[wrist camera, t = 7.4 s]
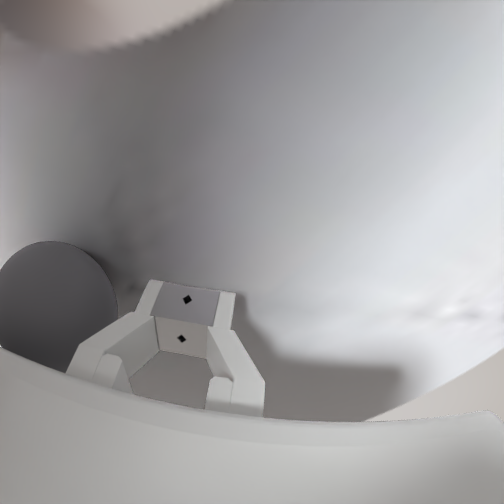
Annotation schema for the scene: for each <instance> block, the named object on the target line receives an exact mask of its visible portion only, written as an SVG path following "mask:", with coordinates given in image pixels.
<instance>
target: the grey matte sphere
mask: <svg viewBox="0 0 504 504" xmlns="http://www.w3.org/2000/svg"><path fill="white" fill-rule="evenodd" d="M116 320H118V309H117V300H116V297H115V293H114V289H113V287H112V285H111V282H110V280H109V278H108V276H107V275H106V273H105V272H104V270H103V269H102V267H101V266H100V265H99V264H98V263H97V262H96V261H95V260H94V259H93V258H92V257H91V256H89V255H88V254H87V253H85V252H84V251H83V250H81V249H79V248H77V247H75V246H72V245H70V244H67V243H63V242H56V241H45V242H39V243H34V244H31V245H29V246H27V247H24V248H23V249H21V250H19V251H18V252H17V253H15V254H14V255H13V256H12V257H10V259H9V260H8V261H7V262H6V263H5V264H4V266H3V267H2V269H1V270H0V345H1V347H2V348H4V349H6V350H8V351H10V352H13V353H15V354H17V355H19V356H22V357H24V358H26V359H29V360H31V361H34V362H36V363H39V364H41V365H44V366H46V367H49V368H52V369H54V370H57V371H60V372H63V373H66V371H67V369H68V367H69V365H70V363H71V361H72V358H73V356H74V354H75V352H76V350H77V348H78V346H79V344H81V343H82V342H84V341H85V340H87V339H88V338H90V337H91V336H93V335H94V334H96V333H98V332H99V331H101V330H102V329H104V328H105V327H107V326H108V325H110V324H112V323H113V322H115V321H116Z"/></svg>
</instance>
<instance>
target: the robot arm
mask: <svg viewBox="0 0 504 504" xmlns="http://www.w3.org/2000/svg"><path fill="white" fill-rule="evenodd" d="M235 296H236V293H233V292H226V291H219V290H212V289H205V288H199V287H191V286H186V285H181V284H176V283H171V282H166V281H165V282H164V281H159V280H154V279H151V280H150V281H149V282H148V283H147V285H146V288H145V290H144V292H143V294H142V296H141V298H140V301H139V303H138V305H137V307H136V310H135V312H129V313H127V314H126V315H124V316H123V317H121V318H119V319H118V320H116V321H115V322H113V323H112V324H110V325H108V326H107V327H105V328H104V329H102V330H101V331H99V332H98V333H96V334H94V335H93V336H91V337H90V338H88V339H87V340H85V341H84V342H82V343H81V344H79V346H78V348H77V350H76V352H75V354H74V356H73V358H72V361H71V363H70V365H69V367H68V369H67V371H66V373H63V372H60V371H57V370H54V369H52V368H49V367H46V366H44V365H41V364H39V363H36V362H34V361H31V360H29V359H26V358H24V357H22V356H19V355H17V354H15V353H13V352H10V351H8V350H6V349H4V348H2V347H0V504H504V422H503V421H502V420H501V419H500V418H499V417H498V416H497V415H496V414H495V413H493V412H492V411H489V410H483V411H477V412H471V413H464V414H458V415H450V416H442V417H434V418H424V419H412V420H398V421H377V422H323V421H301V420H286V419H274V418H263V411H264V396H265V381H264V379H263V378H262V376H261V375H260V373H259V371H258V370H257V368H256V366H255V365H254V363H253V361H252V360H251V358H250V356H249V355H248V353H247V351H246V350H245V348H244V346H243V345H242V343H241V341H240V339H239V338H238V336H237V334H236V333H235V331H234V330H231V326H232V318H233V311H234V303H235ZM159 350H161V351H166V352H172V353H178V354H184V355H188V356H193V357H198V358H203V359H206V360H207V363H208V365H209V367H210V370H211V372H212V374H213V378H211V379H210V382H209V387H208V392H207V397H206V402H205V407H204V409H199V408H193V407H188V406H183V405H178V404H173V403H168V402H164V401H159V400H155V399H151V398H146V397H142V396H138V395H134V393H133V390H132V387H131V385H130V382H129V378H130V377H132V376H133V375H134V374H135V373H136V372H137V371H138V370H139V369H140V368H142V367H143V366H144V365H145V364H146V363H147V362H148V361H149V360H150V359H152V358H153V357H154V356H155V355H156V354H157V353H158V352H159Z"/></svg>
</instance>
